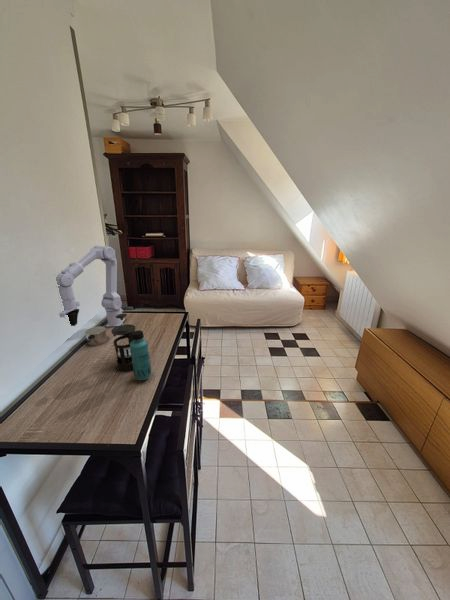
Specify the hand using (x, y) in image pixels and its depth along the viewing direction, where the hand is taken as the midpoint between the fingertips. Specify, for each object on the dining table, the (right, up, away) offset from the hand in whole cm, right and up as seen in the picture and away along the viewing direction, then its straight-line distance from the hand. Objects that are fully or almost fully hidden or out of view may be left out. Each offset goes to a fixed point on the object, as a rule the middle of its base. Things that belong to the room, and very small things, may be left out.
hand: (73, 324), depth 121 cm
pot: (+10, -8, +4) cm, 13 cm away
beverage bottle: (+42, -18, -24) cm, 52 cm away
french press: (+33, -15, -15) cm, 40 cm away
